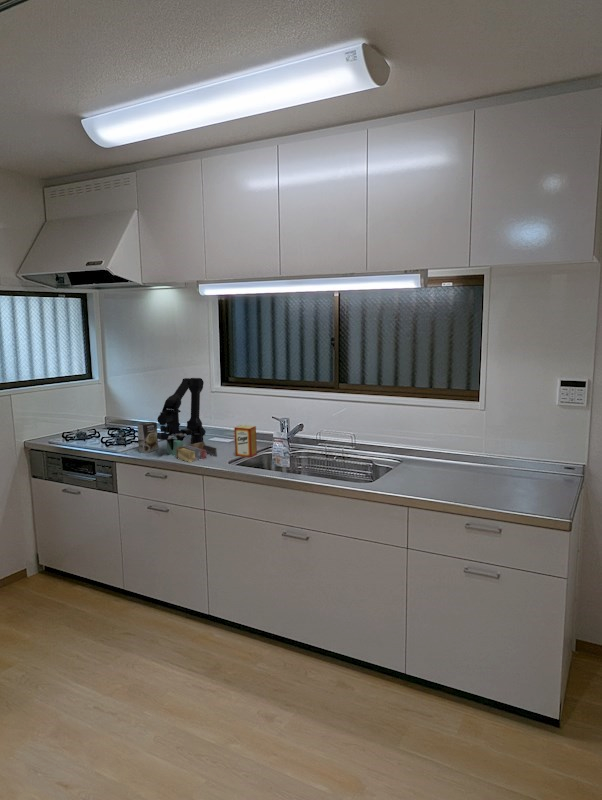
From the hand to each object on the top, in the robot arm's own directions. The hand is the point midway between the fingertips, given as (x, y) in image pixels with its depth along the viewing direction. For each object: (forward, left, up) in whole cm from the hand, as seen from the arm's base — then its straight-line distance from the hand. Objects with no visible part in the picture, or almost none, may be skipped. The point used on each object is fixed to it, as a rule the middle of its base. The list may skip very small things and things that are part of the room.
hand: (175, 449), depth 307 cm
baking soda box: (-25, +31, -3) cm, 40 cm away
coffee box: (+6, -19, -3) cm, 20 cm away
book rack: (-4, +15, -3) cm, 16 cm away
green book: (0, 0, -3) cm, 3 cm away
